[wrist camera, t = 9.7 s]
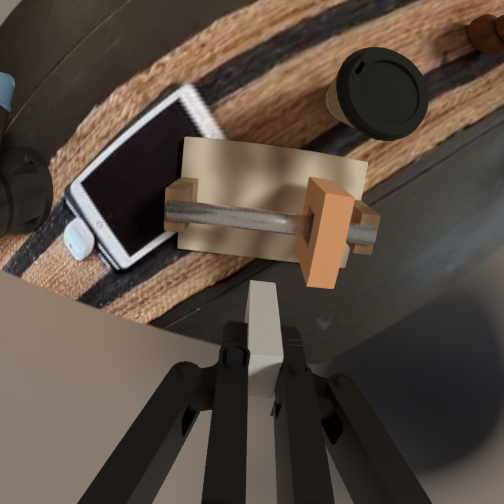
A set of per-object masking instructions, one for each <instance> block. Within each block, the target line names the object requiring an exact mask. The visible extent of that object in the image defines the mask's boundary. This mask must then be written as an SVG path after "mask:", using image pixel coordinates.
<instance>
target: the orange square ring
mask: <svg viewBox="0 0 504 504" xmlns="http://www.w3.org/2000/svg"><path fill="white" fill-rule="evenodd" d="M354 201H355V198H354V197H353V196H352V195H351V194H349V193H348V192H347V191H345V190H344V189H343V188H341V187H340V186H339V185H338V184H336V183H335V182H334V181H332V180H328V179H322V178H316V177H309V179H308V185H307V191H306V197H305V203H304V208H303V214H302V215H307V216H311V214H312V213H314V214H315V216H314V221H313V227H312V232H311V237H310V241H309V239H308V237H305V236H298V242H297V247H296V252H297V255H298V258H299V262H300V265H301V268H302V272H303V275H304V278H305V282H306V285H307V286H309V287H319V288H329V289H334V286H335V282H336V278H337V274H338V270H339V267H340V263H341V259H342V254H343V250H344V246H345V242H346V238H347V233H348V229H349V224H350V220H351V215H352V211H353V206H354Z"/></svg>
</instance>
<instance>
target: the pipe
mask: <svg viewBox="0 0 504 504" xmlns="http://www.w3.org/2000/svg"><path fill="white" fill-rule="evenodd" d="M314 216H315V214H314V213H312V214H311V216H307V215H300V214H292V213H285V212H277V211H269V210H261V209H253V208H245V207H236V206H228V205H219V204H209V203H200V202H190V201H176V200H169V201H168V204H167V208H166V219H167V220H168V221H177V222H187V223H196V224H205V225H214V226H222V227H231V228H240V229H248V230H257V231H265V232H273V233H281V234H289V235H297V236H305V237H308V239H309V241H310V237H311V232H312V227H313V221H314ZM375 240H376V227H375V226H371V225H365V224H360V223H354V222H350V224H349V229H348V233H347V238H346V242H350V243H357V244H365V245H373V244H374V242H375Z"/></svg>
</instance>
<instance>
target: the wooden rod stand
mask: <svg viewBox="0 0 504 504" xmlns="http://www.w3.org/2000/svg"><path fill="white" fill-rule="evenodd" d="M367 166H368V162H365V161H360V160H355V159H350V158H345V157H340V156H335V155H329V154H324V153H318V152H312V151H306V150H300V149H294V148H287V147H280V146H273V145H266V144H258V143H249V142H241V141H231V140H221V139H210V138H197V137H185V139H184V150H183V162H182V174H181V178H179V179H178V180H176V181H175V182H174V183H172V184H171V185H170V186H168V187H167V188H166V192H165V215H164V230H167V231H176V232H178V249H187V250H195V251H204V252H212V253H220V254H229V255H237V256H246V257H254V258H263V259H272V260H280V261H289V262H298V263H300V262H299V258H298V255H297V252H296V247H297V242H298V236H297V235H289V234H281V233H273V232H265V231H257V230H248V229H240V228H231V227H222V226H214V225H205V224H196V223H187V222H177V221H168V220H167V219H166V208H167V204H168V201H169V200H176V201H190V202H200V203H209V204H219V205H228V206H236V207H245V208H253V209H261V210H269V211H277V212H285V213H292V214H300V215H302V214H303V208H304V203H305V197H306V191H307V185H308V179H309V177H316V178H322V179H328V180H332V181H334V182H335V183H336V184H338V185H339V186H340V187H341V188H343V189H344V190H345V191H347V192H348V193H349V194H351V195H352V196H353V197H354V198H355V201H354V206H353V211H352V215H351V220H350V222H354V223H360V224H365V225H371V226H375V227H376V234H377V230H378V226H379V222H380V217H381V216H380V215H379V214H377V213H376V212H375V211H373V210H372V209H371V208H370V207H368V206H367V205H366V204H365V203H363V202H362V201H361V197H362V192H363V187H364V182H365V177H366V172H367ZM373 245H374V244H373ZM373 245H365V244H357V243H350V242H345V246H344V250H343V254H342V259H341V263H340V267H341V268H345V266H346V262H347V258H348V254H349V250H350V249H351V250H352V252H353V253H359V254H367V255H371V253H372V249H373Z"/></svg>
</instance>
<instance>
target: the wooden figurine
mask: <svg viewBox="0 0 504 504" xmlns="http://www.w3.org/2000/svg"><path fill="white" fill-rule="evenodd" d="M467 33H468V36H469V38H470V40H471V42H472V44H473V45H474V46H475V47H476V48H477V50H479V51H481V52H483V53H485V54H488V55H497V54H504V15H502V16H500V17H498V18H497V17H496V16H494V15H490V14H485V15H482V16H480V17H478V18H476V19H475V20H473V21H472V22H471V23H470V25H469V26H468V28H467Z"/></svg>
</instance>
